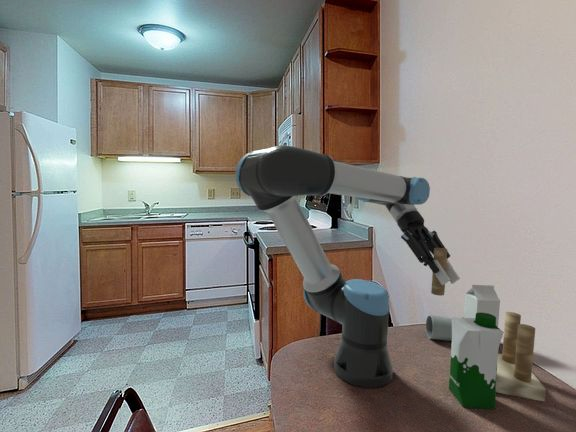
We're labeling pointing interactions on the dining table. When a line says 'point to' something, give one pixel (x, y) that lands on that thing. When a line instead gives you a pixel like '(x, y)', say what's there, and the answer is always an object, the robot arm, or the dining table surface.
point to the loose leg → (441, 257)
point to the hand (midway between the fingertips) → (450, 281)
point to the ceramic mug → (439, 328)
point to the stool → (518, 361)
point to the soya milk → (474, 360)
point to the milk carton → (482, 301)
